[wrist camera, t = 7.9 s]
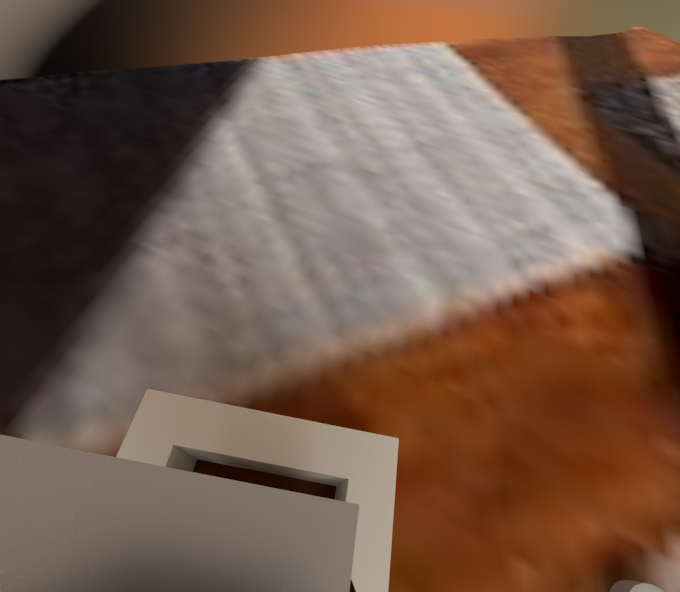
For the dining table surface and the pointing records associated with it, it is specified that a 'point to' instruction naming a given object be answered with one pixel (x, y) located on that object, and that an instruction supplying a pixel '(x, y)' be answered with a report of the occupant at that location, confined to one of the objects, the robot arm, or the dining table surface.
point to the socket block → (279, 461)
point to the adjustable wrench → (634, 587)
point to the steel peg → (160, 528)
